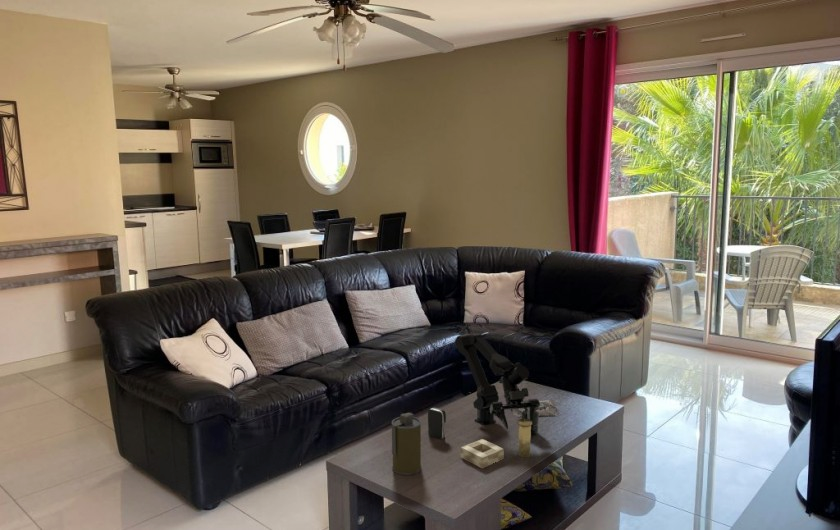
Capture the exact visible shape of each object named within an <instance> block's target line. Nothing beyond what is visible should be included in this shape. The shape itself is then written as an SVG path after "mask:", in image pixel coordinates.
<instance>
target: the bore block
mask: <svg viewBox="0 0 840 530" xmlns="http://www.w3.org/2000/svg"><path fill="white" fill-rule="evenodd" d="M504 450H505V449H504V448H502V447H500V446H498V445H497V444H494V443H492V442H490V441H487V440H486V439H483V438H481V439H478V440H476V441H473V442H471V443H468V444H465V445H464V446H460V458H461V459H463V460H466V461H467V462H469V463H470V464H472V465H475V466H476V467H479V468H481V469H484V468H487V467H488V466H489V467H490V466H492V465H493V463H494V464H495V462H496V463H498V462H500V460H501V461H503V460H504V456H505V454H504ZM502 459H503V460H502Z"/></svg>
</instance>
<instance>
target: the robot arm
mask: <svg viewBox="0 0 840 530" xmlns="http://www.w3.org/2000/svg"><path fill="white" fill-rule="evenodd" d="M454 344H455V346H456V348H457V350H458V352H459V353H461V354H462V356H464V357H465V359H466V362H467V365H468V368H469V370H470V372H471V375H472V378H473V380H474V383H475V385H476V387H477V388H476V389H477V390H476V399H475V400H474V401H473V403H472V404H473V408H474V409H476V410H477V413H476V415H477V418H474V421H475V422H477V423H479V424H481V425H484V426H487V425H489V424H493V423H495V422H496V421H497V420H496V419H494V417H497V418H498V419H499V420H500V422H501V423H502V424H503V427H505V429H506V430H508V429H509V425H508V421H507V417H506V414H505V411H506V410H511V409H518V408H526V409H527V410H528V411H527V416H528V419H529V420H531V421H532V419H533V413H534V412H535V411H536V410H537V409H538V408H539V406H540V402H539V401H540V400H539V399H538V398H531V399H530V398H528V399H527V400H528V402H527V403H521V402H522V401H524V400H525V397H526V398H527V397H529V389H528V387H523V388H521V390H520V388H519V387H518V385H520V384H521V383H523V382H524V381H525V380H527V379H528V378H529V377H530V371H529V369H528V368H527V367H526V366H525V365H523V364H522V363H521V362H515V364H514V363H513V362H511V360H510V359H508V357H506V356H504V355H502V354H499V353H498V351H497V350H495V349H494V348H493V347H492V345H491V344H490V343H489V342H488V341H487V340H486V339H485V338H484V336H483V334H481V333H475V334H471V333H467V334H462V335H457V336H456V338H455V340H454ZM477 350H478V352H480V354H481V355H482V356H483V357H484V358H485V359H486V360H487V361H488V363H489V368H490V369H491V371H492V373H493V374H494V376H496V377H500V376H501V377H500V379H499V381H498V383H499V384H502V389H503V393H504V395H503V397H504V398H505V403H506V404H503V402H502V401H499V400H500V396H499V392H498V390H497V388H496V386H495V384H491V383H489V381H488V379H487V376H486V373H485V371H484V369H483V367H482V364H481V362H480V361H481V360H480V359H479V357H478V355H477ZM503 375H504V376H503ZM531 427H532V425H531Z"/></svg>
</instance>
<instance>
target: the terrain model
mask: <svg viewBox="0 0 840 530" xmlns="http://www.w3.org/2000/svg"><path fill="white" fill-rule="evenodd" d="M528 400H529V399H526V400H525V399H523V401H522V402H521V403H527V402H528ZM539 402H540V406H539V408H538V409H537V410H536V411H537V412H538V413H539V416H547V417H548V416H549V417H556V416H555V415H557V416H560V415H561V413H560V412H559V410H558V408H557V406H556V405H555V403H554V401H553V400H552V399H549V400H548V399H547V400H544V399H543V400H539ZM523 410H524V408H518V409H510V411H511V414H512V415H513V416H514V415H515V416H514V417H516V416H518V417H517V418H521V416H522V411H523ZM559 414H560V415H559Z"/></svg>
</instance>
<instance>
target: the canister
mask: <svg viewBox="0 0 840 530" xmlns="http://www.w3.org/2000/svg"><path fill="white" fill-rule="evenodd" d="M421 426H422V420H421V419H419V417H415V414H414V413H412V412H406V413H401V414H400V416H398V417H396V418H394V419H392V420H391V452H392V453H391V454H392V467H391V468H392V469H391V470H392V471H393V472H394V473H395V474H398V475H402V476H411V475H415V474H418V473H420V471H421V470H422V464H421V463H422V459H421V457H422V452H421V450H422V449H421V447H422V445H421V444H422V443H421V441H422V439H421V438H422V437H421V436H422V435H421V431H422V430H421V428H422V427H421Z"/></svg>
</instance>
